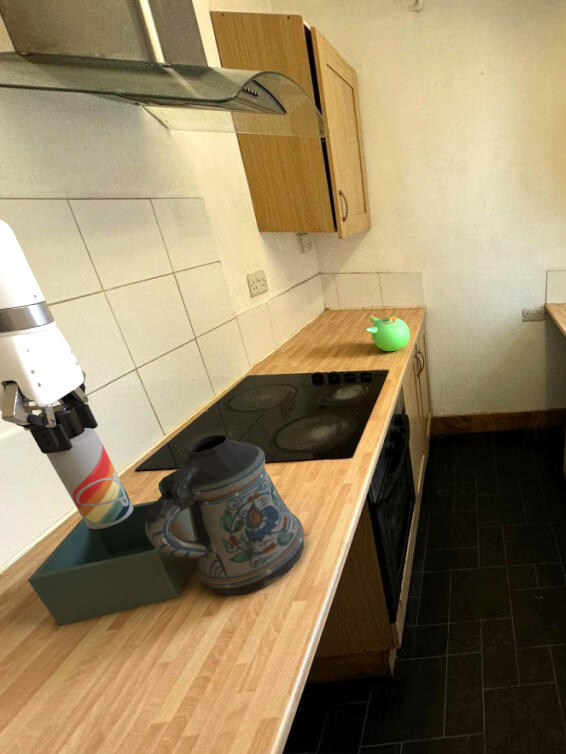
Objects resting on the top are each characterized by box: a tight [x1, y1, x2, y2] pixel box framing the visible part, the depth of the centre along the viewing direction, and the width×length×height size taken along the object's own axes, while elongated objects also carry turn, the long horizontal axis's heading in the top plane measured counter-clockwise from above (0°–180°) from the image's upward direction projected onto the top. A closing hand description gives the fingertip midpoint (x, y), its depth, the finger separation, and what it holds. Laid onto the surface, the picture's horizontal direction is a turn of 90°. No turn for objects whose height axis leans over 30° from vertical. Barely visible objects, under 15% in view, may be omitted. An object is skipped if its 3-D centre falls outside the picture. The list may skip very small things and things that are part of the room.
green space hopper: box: [365, 315, 411, 352], centre depth 177 cm, size 18×17×15 cm
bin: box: [27, 500, 197, 627], centre depth 70 cm, size 16×15×10 cm
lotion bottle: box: [36, 404, 134, 529], centre depth 63 cm, size 6×6×20 cm
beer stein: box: [145, 434, 305, 597], centre depth 68 cm, size 16×19×25 cm
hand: (71, 438), depth 61 cm, fingers closed on lotion bottle, 5 cm apart
